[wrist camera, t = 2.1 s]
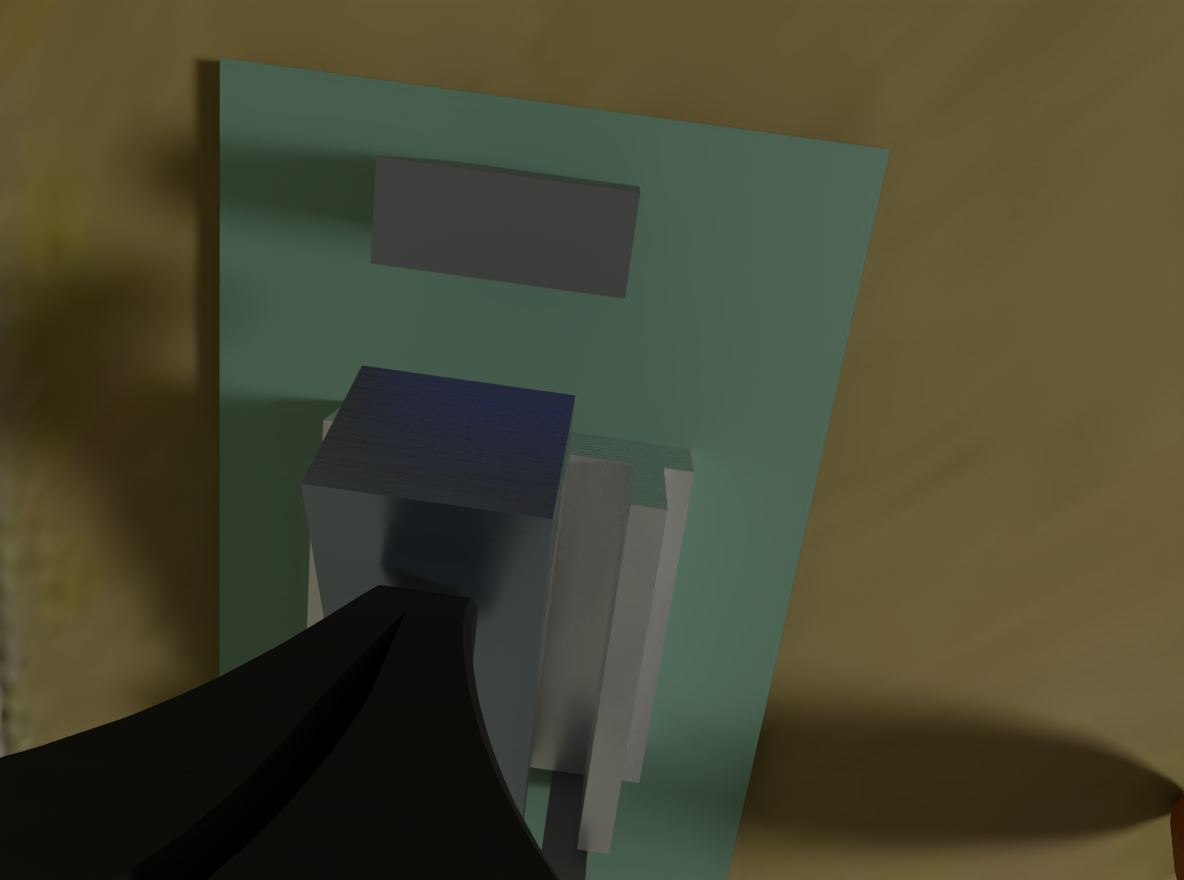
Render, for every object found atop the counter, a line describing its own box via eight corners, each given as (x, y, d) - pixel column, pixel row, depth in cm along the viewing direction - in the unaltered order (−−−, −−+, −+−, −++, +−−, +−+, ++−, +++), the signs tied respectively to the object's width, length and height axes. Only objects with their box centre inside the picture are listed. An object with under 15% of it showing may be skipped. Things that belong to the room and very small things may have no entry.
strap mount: (588, 788, 23) (573, 977, 18) (371, 757, 23) (290, 935, 18) (681, 192, 18) (700, 200, 13) (410, 155, 18) (316, 148, 13)
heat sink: (639, 741, 22) (639, 858, 18) (333, 697, 22) (271, 804, 19) (690, 449, 20) (702, 515, 16) (347, 401, 20) (279, 454, 16)
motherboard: (718, 886, 25) (720, 909, 24) (232, 815, 25) (218, 836, 24) (879, 150, 19) (890, 149, 18) (236, 62, 19) (219, 57, 18)
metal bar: (528, 816, 20) (509, 942, 18) (402, 798, 20) (368, 921, 18) (575, 395, 12) (549, 538, 10) (361, 365, 12) (291, 501, 10)
